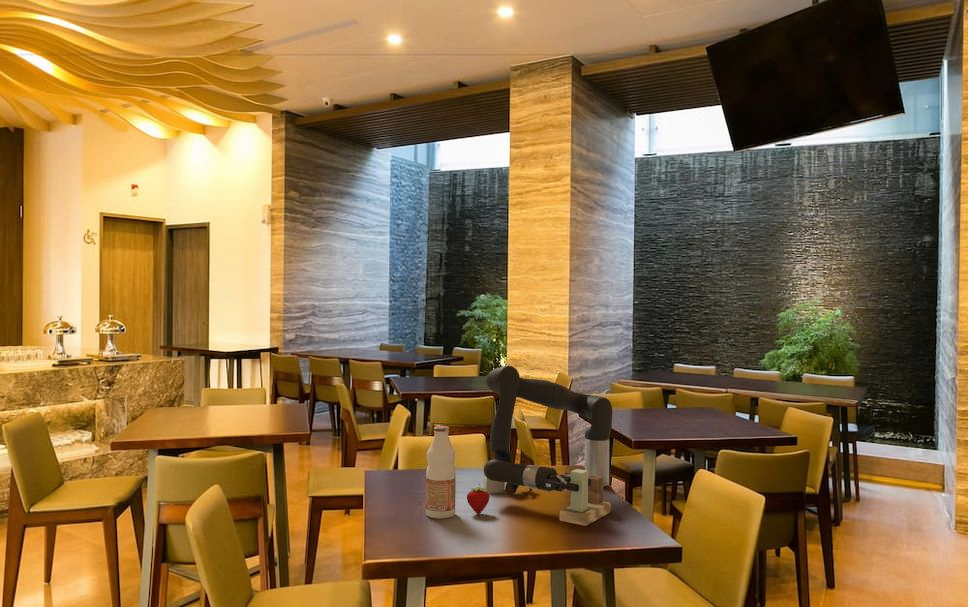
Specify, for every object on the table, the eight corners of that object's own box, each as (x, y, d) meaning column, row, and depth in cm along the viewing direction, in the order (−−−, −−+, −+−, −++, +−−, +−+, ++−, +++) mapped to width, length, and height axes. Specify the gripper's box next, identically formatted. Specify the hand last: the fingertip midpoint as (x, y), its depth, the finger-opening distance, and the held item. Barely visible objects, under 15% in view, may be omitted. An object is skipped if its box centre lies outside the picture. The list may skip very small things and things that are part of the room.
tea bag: (504, 492, 247) (504, 464, 247) (486, 493, 245) (486, 465, 245) (501, 489, 250) (501, 462, 251) (483, 490, 249) (484, 463, 249)
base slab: (585, 507, 229) (585, 474, 229) (610, 512, 223) (610, 478, 224) (559, 520, 214) (559, 485, 214) (585, 525, 209) (586, 489, 209)
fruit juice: (433, 521, 212) (434, 430, 213) (421, 513, 220) (421, 425, 221) (460, 516, 217) (461, 428, 217) (447, 509, 225) (448, 423, 225)
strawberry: (464, 512, 222) (464, 481, 222) (486, 510, 224) (487, 479, 224) (469, 517, 216) (469, 485, 216) (491, 515, 218) (492, 484, 218)
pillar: (576, 506, 218) (576, 469, 218) (587, 509, 215) (588, 470, 216) (570, 509, 214) (570, 471, 215) (581, 512, 212) (582, 473, 212)
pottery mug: (506, 490, 252) (518, 470, 253) (527, 504, 248) (539, 484, 249) (496, 489, 241) (508, 468, 242) (517, 504, 237) (530, 483, 238)
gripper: (528, 470, 217) (574, 477, 208) (550, 462, 229) (595, 469, 220) (528, 494, 217) (574, 502, 208) (550, 484, 229) (594, 492, 220)
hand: (584, 485), depth 214 cm, fingers open, 8 cm apart
